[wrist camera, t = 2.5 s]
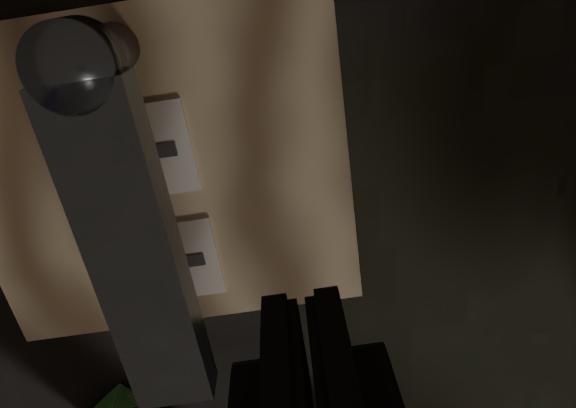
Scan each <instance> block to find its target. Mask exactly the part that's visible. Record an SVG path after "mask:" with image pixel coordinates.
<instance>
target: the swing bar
mask: <svg viewBox="0 0 576 408" xmlns="http://www.w3.org/2000/svg"><path fill="white" fill-rule="evenodd" d="M15 61H16V69H17V73H18V76H19V79H20V81H21V83H22V85H23V87H24V89H22V90H19V93H20V96H21V99H22V101H23V104H24V106H25V109H26V112H27V114H28V117H29V120H30V122H31V125H32V128H33V130H34V133H35V135H36V138H37V141H38V143H39V146H40V149H41V151H42V154H43V157H44V159H45V162H46V164H47V167H48V170H49V172H50V175H51V178H52V180H53V183H54V186H55V188H56V191H57V194H58V196H59V199H60V201H61V204H62V207H63V209H64V212H65V215H66V217H67V220H68V223H69V225H70V228H71V230H72V233H73V236H74V238H75V241H76V244H77V246H78V249H79V252H80V254H81V257H82V259H83V262H84V265H85V267H86V270H87V273H88V275H89V278H90V281H91V283H92V286H93V288H94V291H95V294H96V296H97V299H98V302H99V304H100V307H101V310H102V312H103V315H104V317H105V320H106V323H107V325H108V328H109V331H110V333H111V336H112V339H113V341H114V344H115V347H116V349H117V352H118V354H119V357H120V360H121V362H122V365H123V368H124V370H125V373H126V376H127V378H128V381H129V383H130V386H131V389H132V391H133V394H134V397H135V399H136V402H137V405H138V407H139V408H157V407H164V406H172V405H180V404H187V403H195V402H203V401H210V400H214V395H215V388H216V380H217V373H218V372H217V368H216V364H215V361H214V357H213V353H212V350H211V346H210V342H209V339H208V335H207V331H206V327H205V324H204V320H203V316H202V313H201V309H200V305H199V302H198V298H197V294H196V291H195V287H194V283H193V280H192V276H191V272H190V269H189V265H188V261H187V258H186V254H185V250H184V247H183V243H182V239H181V236H180V232H179V228H178V225H177V221H176V217H175V214H174V210H173V206H172V203H171V199H170V195H169V191H168V188H167V184H166V180H165V177H164V173H163V169H162V166H161V162H160V158H159V155H158V151H157V147H156V144H155V140H154V136H153V133H152V129H151V125H150V122H149V118H148V114H147V111H146V107H145V103H144V100H143V96H142V92H141V89H140V85H139V81H138V78H137V74H136V70H135V67H134V66H133V67H128V60H127V55H126V52H125V49H124V47H123V45H122V43H121V41H120V40H119V38H118V37H117V36H116V34H115V33H114V32H113V31H112V30H111V29H110V28H109V27H107V26H106V25H105V24H103V23H102V22H100V21H98V20H96V19H94V18H91V17H88V16H83V15H68V16H63V17H57V18H52V19H47V20H43V21H40V22H38V23H36V24H34V25H32V26H31V27H30V28H28V29H27V30H26V31H25V33H24V34H23V35H22V37H21V38H20V40H19V43H18V45H17V49H16V56H15Z"/></svg>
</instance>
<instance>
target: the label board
mask: <svg viewBox="0 0 576 408" xmlns="http://www.w3.org/2000/svg"><path fill="white" fill-rule="evenodd" d="M68 15H83V16H88V17H91V18H94V19H96V20H98V21H100V22H102V23H103V24H105V25H106V26H107V27H109V28H110V29H111V30H112V31H113V32H114V33H115V34H116V36H117V37H118V38H119V40H120V41H121V43H122V45H123V47H124V49H125V52H126V55H127V60H128V67H133V66H134V67H135V70H136V74H137V78H138V81H139V85H140V89H141V92H142V96H143V100H144V103H145V107H146V111H147V114H148V118H149V122H150V125H151V129H152V133H153V136H154V140H155V144H156V147H157V151H158V155H159V158H160V162H161V166H162V169H163V173H164V177H165V180H166V184H167V188H168V191H169V195H170V199H171V203H172V206H173V210H174V214H175V217H176V221H177V225H178V228H179V232H180V236H181V239H182V243H183V247H184V250H185V254H186V258H187V261H188V265H189V269H190V272H191V276H192V280H193V283H194V287H195V291H196V294H197V298H198V302H199V305H200V309H201V313H202V316H203V318H204V317H211V316H219V315H226V314H233V313H240V312H248V311H255V310H261V297H262V296H267V295H274V294H281V293H286V294H287V299H293V298H297V303H298V305H299V304H305V298H304V297H308V296H314V291H313V289H316V288H323V287H330V286H338V289H339V294H340V298H341V299H343V298H350V297H358V296H362V289H361V278H360V268H359V258H358V247H357V237H356V226H355V216H354V206H353V195H352V185H351V174H350V164H349V154H348V143H347V133H346V123H345V112H344V102H343V91H342V81H341V71H340V60H339V50H338V39H337V29H336V19H335V8H334V0H127V1H120V2H114V3H108V4H101V5H95V6H89V7H83V8H76V9H70V10H64V11H58V12H51V13H45V14H39V15H33V16H26V17H20V18H14V19H7V20H1V21H0V286H1V288H2V290H3V293H4V295H5V297H6V299H7V301H8V303H9V305H10V307H11V309H12V311H13V314H14V316H15V318H16V320H17V322H18V324H19V326H20V328H21V330H22V332H23V335H24V337H25V339H26V341H27V342H28V341H35V340H43V339H50V338H57V337H65V336H72V335H79V334H87V333H94V332H101V331H109V328H108V325H107V323H106V320H105V317H104V315H103V312H102V310H101V307H100V304H99V302H98V299H97V296H96V294H95V291H94V288H93V286H92V283H91V281H90V278H89V275H88V273H87V270H86V267H85V265H84V262H83V259H82V257H81V254H80V252H79V249H78V246H77V244H76V241H75V238H74V236H73V233H72V230H71V228H70V225H69V223H68V220H67V217H66V215H65V212H64V209H63V207H62V204H61V201H60V199H59V196H58V194H57V191H56V188H55V186H54V183H53V180H52V178H51V175H50V172H49V170H48V167H47V164H46V162H45V159H44V157H43V154H42V151H41V149H40V146H39V143H38V141H37V138H36V135H35V133H34V130H33V128H32V125H31V122H30V120H29V117H28V114H27V112H26V109H25V106H24V104H23V101H22V99H21V96H20V93H19V90H22V89H24V87H23V85H22V83H21V81H20V79H19V76H18V73H17V69H16V61H15V56H16V49H17V45H18V43H19V40H20V38H21V37H22V35H23V34H24V33H25V31H26V30H27V29H28V28H30V27H31V26H32V25H34V24H36V23H38V22H40V21H43V20H47V19H52V18H57V17H63V16H68Z"/></svg>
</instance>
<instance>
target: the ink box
mask: <svg viewBox="0 0 576 408" xmlns="http://www.w3.org/2000/svg"><path fill="white" fill-rule="evenodd" d="M94 408H139V407H138V405H137V402H136V399H135V397H134V394H133V391H132V390H131V389H129V388H127V387H126V386H124V385H123V384H118V385H117V386H116V387H115V388H114V389H113V390H112V391H110V392H109V393H108V394H107V395H106V396H105V397H104V398H103V399H102V400H101V401H100V402H99V403H98V404H97V405H96V406H95V407H94ZM157 408H161V407H157Z"/></svg>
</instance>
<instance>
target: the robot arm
mask: <svg viewBox="0 0 576 408" xmlns="http://www.w3.org/2000/svg"><path fill="white" fill-rule="evenodd" d="M313 291H314V296H308V297H304V298H305V307H306V316H307V325H308V334H309V342H310V351H311V360H312V369H313V378H314V387H315V396H316V404H317V408H405V406H404V403H403V400H402V397H401V394H400V391H399V387H398V384H397V381H396V378H395V375H394V372H393V368H392V365H391V362H390V359H389V356H388V353H387V349H386V347H385V344H384V343H383V342H378V343H371V344H364V345H356V346H351V343H350V338H349V334H348V329H347V325H346V320H345V316H344V311H343V307H342V302H341V298H340V294H339V289H338V286H330V287H323V288H316V289H313ZM228 408H314V401H313V393H312V387H311V381H310V375H309V369H308V363H307V357H306V351H305V345H304V339H303V333H302V327H301V321H300V315H299V309H298V303H297V298H293V299H287V294H286V293H281V294H274V295H267V296H262V297H261V328H260V359H255V360H248V361H240V362H233V364H232V368H231V376H230V387H229V398H228Z"/></svg>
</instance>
